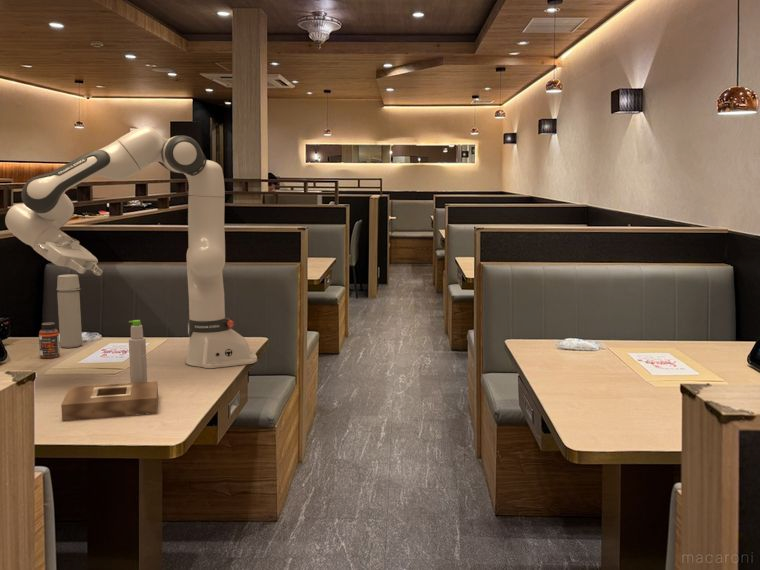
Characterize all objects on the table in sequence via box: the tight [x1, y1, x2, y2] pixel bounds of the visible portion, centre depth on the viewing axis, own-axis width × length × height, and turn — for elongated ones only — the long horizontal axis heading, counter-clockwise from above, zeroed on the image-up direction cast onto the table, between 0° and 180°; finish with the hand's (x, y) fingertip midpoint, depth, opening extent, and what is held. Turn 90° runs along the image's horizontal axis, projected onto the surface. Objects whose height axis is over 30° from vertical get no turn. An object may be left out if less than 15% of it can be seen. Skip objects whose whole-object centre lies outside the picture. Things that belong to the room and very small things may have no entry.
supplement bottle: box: [38, 322, 61, 360], centre depth 242 cm, size 6×6×11 cm
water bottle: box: [55, 273, 83, 349], centre depth 257 cm, size 9×8×25 cm
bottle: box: [128, 319, 148, 383], centre depth 202 cm, size 4×4×20 cm
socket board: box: [60, 380, 159, 421], centre depth 189 cm, size 22×16×4 cm
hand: (92, 272), depth 209 cm, fingers open, 8 cm apart
